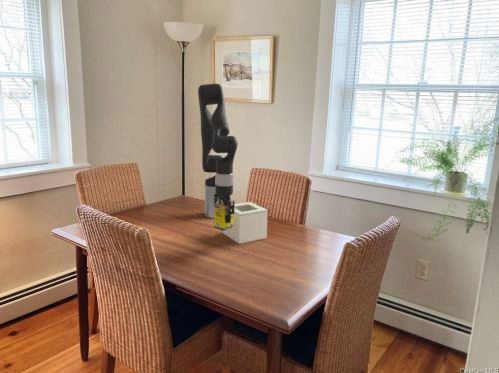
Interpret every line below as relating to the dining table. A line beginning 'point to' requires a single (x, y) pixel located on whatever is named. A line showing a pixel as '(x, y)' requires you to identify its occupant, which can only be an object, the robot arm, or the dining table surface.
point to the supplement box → (221, 217)
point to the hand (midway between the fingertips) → (223, 220)
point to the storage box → (248, 223)
